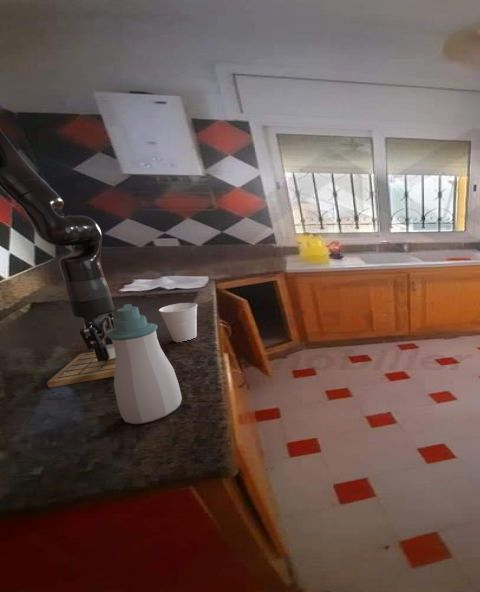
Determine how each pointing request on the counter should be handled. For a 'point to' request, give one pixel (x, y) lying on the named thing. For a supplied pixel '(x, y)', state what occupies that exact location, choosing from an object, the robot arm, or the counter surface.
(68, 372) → the board
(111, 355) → the white short cylinder
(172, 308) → the cup
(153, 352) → the soap bottle
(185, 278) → the counter surface
